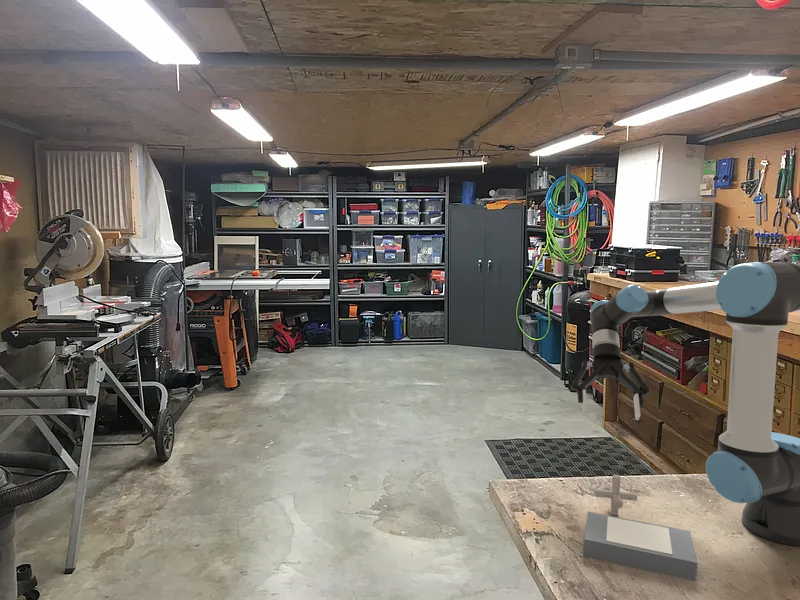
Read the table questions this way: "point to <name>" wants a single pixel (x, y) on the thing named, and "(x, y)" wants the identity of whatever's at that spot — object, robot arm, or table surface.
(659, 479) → the table surface
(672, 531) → the grey flat block
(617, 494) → the pipe connector
